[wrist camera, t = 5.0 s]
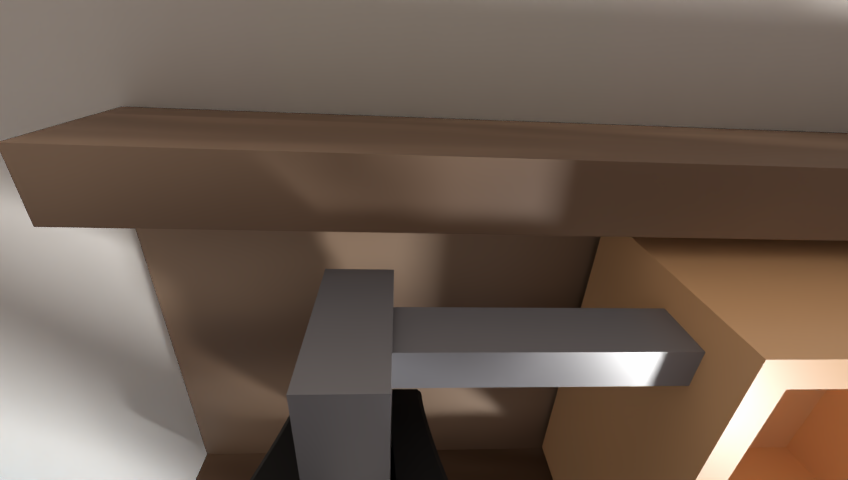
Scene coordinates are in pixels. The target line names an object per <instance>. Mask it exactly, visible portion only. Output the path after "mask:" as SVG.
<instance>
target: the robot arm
mask: <svg viewBox="0 0 848 480" xmlns="http://www.w3.org/2000/svg"><path fill="white" fill-rule="evenodd" d="M250 480H300V478H299V472H298V465H297V459H296V453H295V447H294V440H293V434H292V428H291V421H290V415H289V417H288V418H287V420H286V422H285V424H284V425H283V427H282V429H281V431H280V432H279V434H278V436H277V437H276V439H275V441H274V442H273V444H272V446H271V447H270V449H269V451H268V452H267V454H266V455H265V457H264V458H263V460H262V462H261V463H260V465H259V466H258V468H257V469H256V471H255V473H254V474H253V476H252V477H251V479H250ZM391 480H448V478H447V475H446V473H445V470H444V468H443V465H442V463H441V460H440V458H439V455H438V452H437V449H436V446H435V444H434V440H433V437H432V434H431V431H430V428H429V425H428V421H427V418H426V414H425V410H424V405H423V401H422V395H421V392H420V391H419V390H417V389H392V423H391Z"/></svg>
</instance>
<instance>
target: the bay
mask: <svg viewBox="0 0 848 480" xmlns="http://www.w3.org/2000/svg"><path fill="white" fill-rule="evenodd" d="M0 152H1V154H2V157H3V159H4V161H5V163H6V165H7V168H8V170H9V172H10V174H11V177H12V179H13V181H14V183H15V186H16V188H17V190H18V192H19V195H20V197H21V199H22V201H23V204H24V206H25V208H26V210H27V212H28V215H29V217H30V219H31V221H32V224H33V226H34V227H83V228H135V229H136V232H137V235H138V238H139V241H140V244H141V247H142V251H143V254H144V257H145V260H146V263H147V266H148V269H149V273H150V276H151V279H152V282H153V285H154V288H155V291H156V295H157V298H158V301H159V304H160V307H161V310H162V313H163V317H164V320H165V323H166V326H167V329H168V332H169V335H170V339H171V342H172V345H173V348H174V351H175V354H176V357H177V361H178V364H179V367H180V370H181V373H182V376H183V379H184V383H185V386H186V389H187V392H188V395H189V398H190V402H191V405H192V408H193V411H194V414H195V417H196V420H197V424H198V427H199V430H200V433H201V436H202V439H203V442H204V446H205V449H206V452H207V456H206V458H205V461H204V463H203V465H202V467H201V469H200V472H199V474H198V476H197V478H196V480H250V479H251V477H252V476H253V474H254V473H255V471H256V469H257V468H258V466H259V465H260V463H261V462H262V460H263V458H264V457H265V455H266V454H267V452H268V451H269V449H270V447H271V446H272V444H273V442H274V441H275V439H276V437H277V436H278V434H279V432H280V431H281V429H282V427H283V425H284V424H285V422H286V420H287V418H288V417H289V409H288V403H287V396H286V394H287V391H288V388H289V385H290V381H291V378H292V375H293V372H294V368H295V365H296V362H297V359H298V355H299V352H300V349H301V346H302V343H303V339H304V336H305V333H306V330H307V326H308V323H309V320H310V317H311V313H312V310H313V307H314V304H315V300H316V297H317V294H318V291H319V288H320V284H321V281H322V278H323V275H324V271H325V269H386V270H394V307H479V308H581V305H582V302H583V298H584V295H585V291H586V288H587V284H588V280H589V277H590V273H591V270H592V266H593V263H594V259H595V255H596V252H597V248H598V245H599V241H600V237H601V236H602V237H660V238H717V239H775V240H833V241H848V133H824V132H797V131H770V130H743V129H715V128H688V127H661V126H634V125H606V124H579V123H552V122H525V121H497V120H470V119H443V118H416V117H389V116H361V115H334V114H307V113H280V112H252V111H225V110H198V109H171V108H143V107H119V108H115V109H112V110H108V111H105V112H101V113H98V114H94V115H91V116H87V117H84V118H80V119H77V120H73V121H70V122H66V123H63V124H59V125H56V126H52V127H49V128H45V129H42V130H38V131H35V132H31V133H28V134H24V135H21V136H17V137H14V138H10V139H7V140H3V141H0ZM558 388H559V387H493V388H392V389H417V390H419V391H420V392H421V395H422V401H423V405H424V410H425V414H426V418H427V421H428V425H429V428H430V431H431V434H432V437H433V440H434V444H435V446H436V449H437V452H438V455H439V458H440V460H441V463H442V465H443V468H444V470H445V473H446V475H447V478H448V480H553V478H552V475H551V472H550V469H549V466H548V463H547V460H546V457H545V454H544V452H543V449H542V445H543V441H544V438H545V434H546V430H547V427H548V423H549V420H550V416H551V413H552V409H553V405H554V402H555V398H556V395H557V391H558Z"/></svg>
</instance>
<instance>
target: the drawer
mask: <svg viewBox="0 0 848 480" xmlns="http://www.w3.org/2000/svg"><path fill="white" fill-rule="evenodd" d="M493 387H559V388H558V391H557V395H556V398H555V402H554V405H553V409H552V413H551V416H550V420H549V423H548V427H547V430H546V434H545V438H544V441H543V445H542V449H543V452H544V454H545V457H546V460H547V463H548V466H549V469H550V472H551V475H552V478H553V480H848V241H833V240H775V239H717V238H660V237H602V236H601V237H600V241H599V245H598V248H597V252H596V255H595V259H594V263H593V266H592V270H591V273H590V277H589V280H588V284H587V288H586V291H585V295H584V298H583V302H582V305H581V308H479V307H394V270H386V269H325V271H324V275H323V278H322V281H321V284H320V288H319V291H318V294H317V297H316V300H315V304H314V307H313V310H312V313H311V317H310V320H309V323H308V326H307V330H306V333H305V336H304V339H303V343H302V346H301V349H300V352H299V355H298V359H297V362H296V365H295V368H294V372H293V375H292V378H291V381H290V385H289V388H288V391H287V394H286V396H287V403H288V409H289V415H290V421H291V428H292V434H293V440H294V447H295V453H296V459H297V465H298V472H299V478H300V480H391V423H392V388H493Z"/></svg>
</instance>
